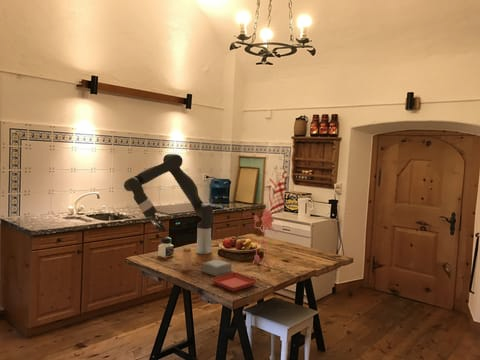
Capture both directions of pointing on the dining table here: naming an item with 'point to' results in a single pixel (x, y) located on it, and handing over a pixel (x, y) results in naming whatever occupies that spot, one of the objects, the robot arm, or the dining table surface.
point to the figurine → (267, 222)
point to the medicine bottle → (166, 248)
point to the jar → (186, 259)
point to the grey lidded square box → (216, 267)
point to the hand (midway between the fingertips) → (162, 231)
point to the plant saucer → (233, 281)
